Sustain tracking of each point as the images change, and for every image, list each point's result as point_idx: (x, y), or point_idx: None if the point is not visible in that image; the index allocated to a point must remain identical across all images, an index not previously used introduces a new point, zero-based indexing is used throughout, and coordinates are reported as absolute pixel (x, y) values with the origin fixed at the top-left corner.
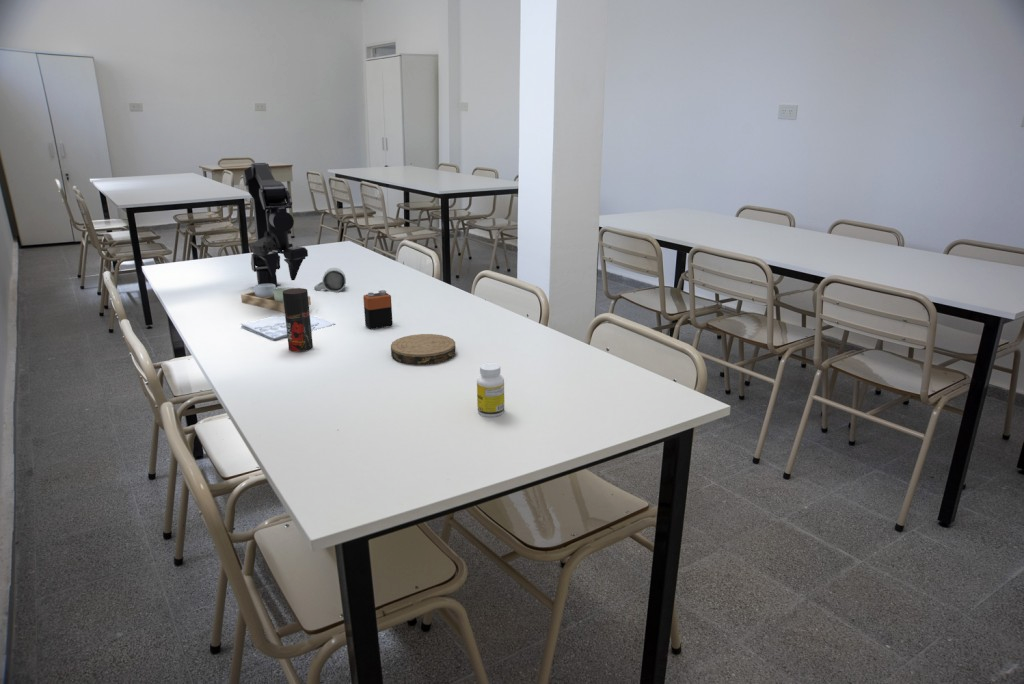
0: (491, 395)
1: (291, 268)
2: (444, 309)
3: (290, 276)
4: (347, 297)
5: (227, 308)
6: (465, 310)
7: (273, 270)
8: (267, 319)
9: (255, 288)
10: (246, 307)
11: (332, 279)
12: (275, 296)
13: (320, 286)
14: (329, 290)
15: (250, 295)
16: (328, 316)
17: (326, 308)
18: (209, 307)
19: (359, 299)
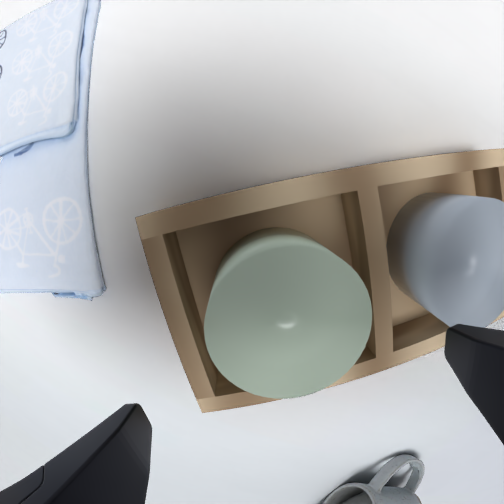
0: None
1: (22, 481)
2: None
3: (116, 423)
4: (236, 495)
5: (443, 66)
6: None
7: (482, 376)
8: (51, 87)
9: (484, 197)
10: (414, 126)
11: None
12: (280, 238)
13: (382, 479)
14: (348, 486)
15: (494, 195)
16: (16, 337)
17: (123, 399)
18: (483, 44)
19: (183, 500)
